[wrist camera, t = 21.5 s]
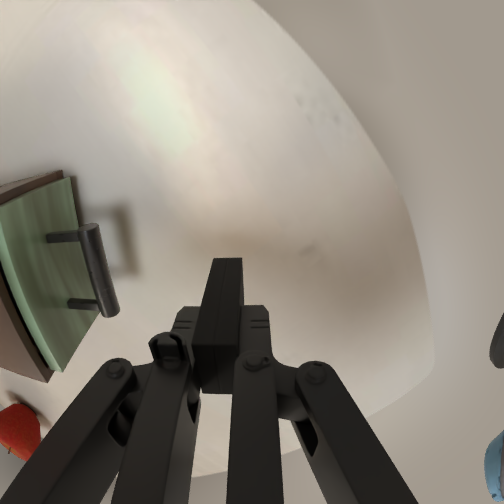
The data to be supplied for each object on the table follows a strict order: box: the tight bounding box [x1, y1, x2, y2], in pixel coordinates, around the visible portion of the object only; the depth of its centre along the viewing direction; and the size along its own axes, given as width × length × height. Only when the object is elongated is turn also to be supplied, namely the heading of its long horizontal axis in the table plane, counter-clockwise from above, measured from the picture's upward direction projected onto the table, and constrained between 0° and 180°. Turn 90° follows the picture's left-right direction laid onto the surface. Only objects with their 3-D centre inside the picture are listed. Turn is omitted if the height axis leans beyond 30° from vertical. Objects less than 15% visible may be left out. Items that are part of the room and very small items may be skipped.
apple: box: [0, 404, 41, 461], centre depth 28 cm, size 11×11×12 cm
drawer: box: [0, 177, 120, 372], centre depth 15 cm, size 19×11×8 cm, turn 91°
